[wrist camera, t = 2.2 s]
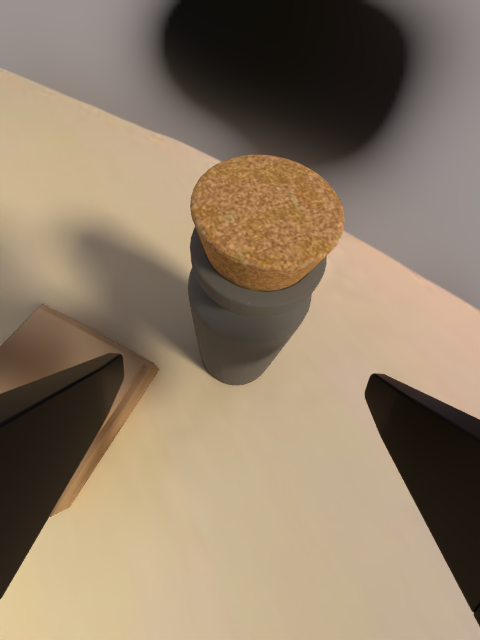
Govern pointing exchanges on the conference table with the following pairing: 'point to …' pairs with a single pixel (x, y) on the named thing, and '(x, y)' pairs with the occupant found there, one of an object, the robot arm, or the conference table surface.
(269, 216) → the bottle
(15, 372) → the plinth
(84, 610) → the conference table surface
